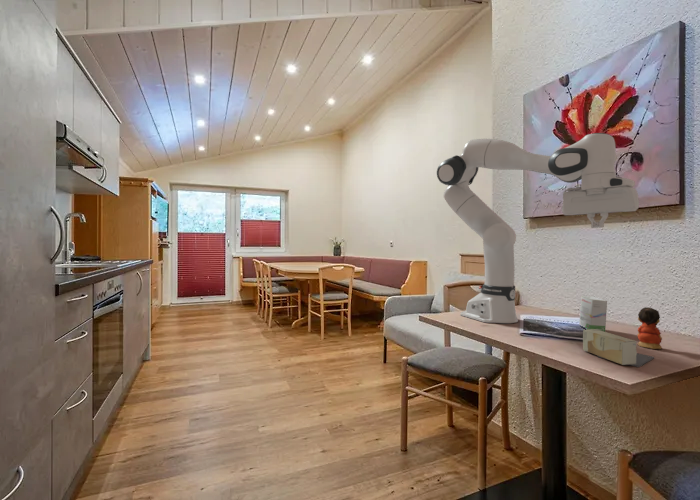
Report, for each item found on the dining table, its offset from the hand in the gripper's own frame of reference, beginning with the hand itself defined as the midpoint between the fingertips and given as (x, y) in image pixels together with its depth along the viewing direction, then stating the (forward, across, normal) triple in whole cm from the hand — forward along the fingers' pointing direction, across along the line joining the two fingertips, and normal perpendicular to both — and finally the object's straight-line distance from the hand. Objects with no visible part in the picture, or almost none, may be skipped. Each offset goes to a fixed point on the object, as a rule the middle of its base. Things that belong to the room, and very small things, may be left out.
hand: (597, 227), depth 108 cm
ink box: (+37, -6, +14) cm, 40 cm away
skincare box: (+33, +4, -14) cm, 36 cm away
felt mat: (+37, +12, -12) cm, 40 cm away
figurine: (+37, +12, +6) cm, 39 cm away
